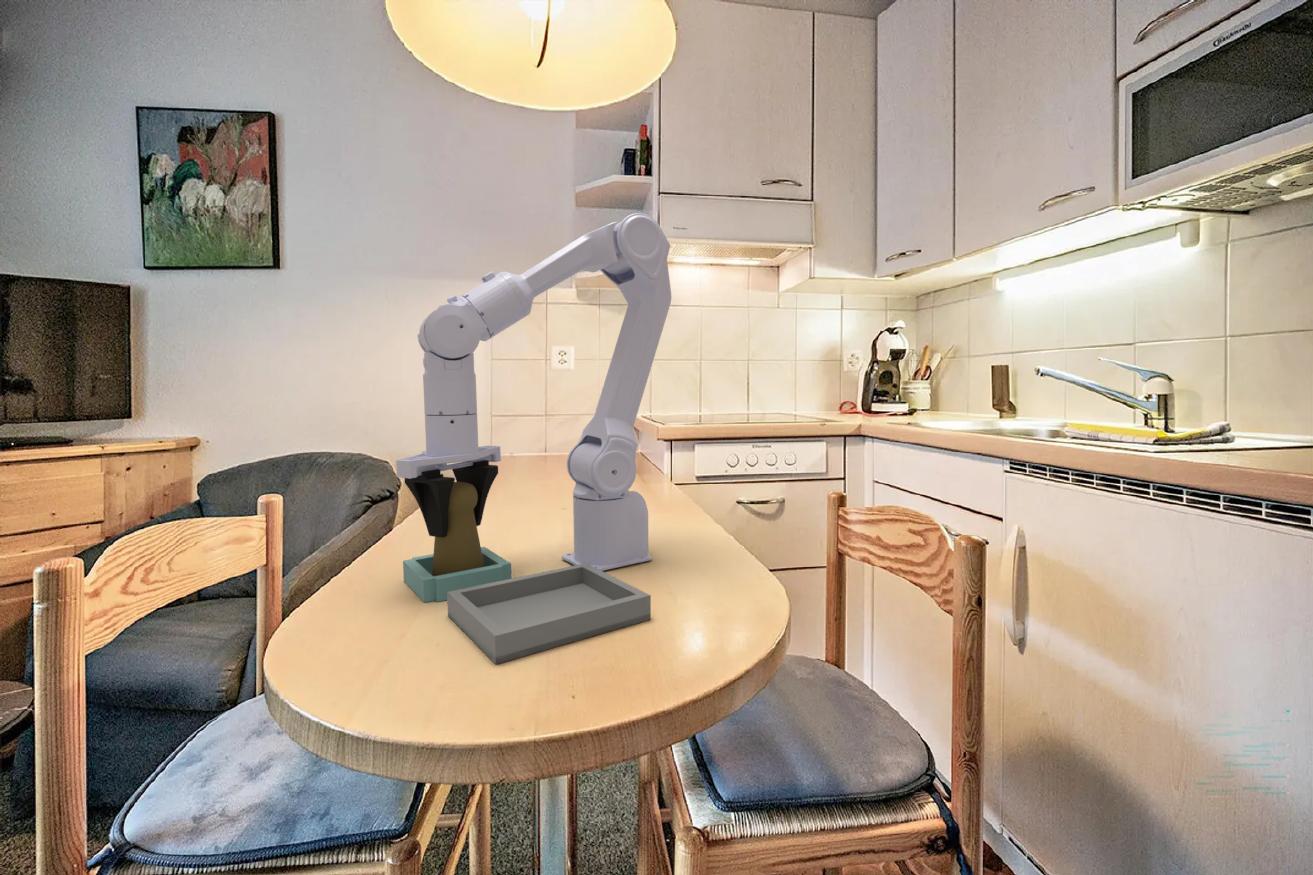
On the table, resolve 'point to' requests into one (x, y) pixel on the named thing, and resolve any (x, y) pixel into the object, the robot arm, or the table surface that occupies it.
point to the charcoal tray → (545, 610)
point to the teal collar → (452, 576)
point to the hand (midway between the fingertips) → (455, 530)
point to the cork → (459, 534)
